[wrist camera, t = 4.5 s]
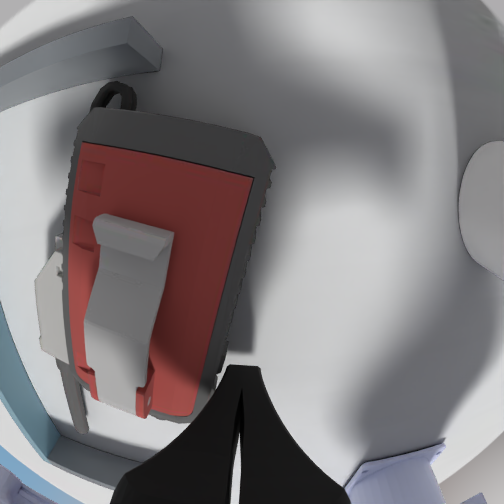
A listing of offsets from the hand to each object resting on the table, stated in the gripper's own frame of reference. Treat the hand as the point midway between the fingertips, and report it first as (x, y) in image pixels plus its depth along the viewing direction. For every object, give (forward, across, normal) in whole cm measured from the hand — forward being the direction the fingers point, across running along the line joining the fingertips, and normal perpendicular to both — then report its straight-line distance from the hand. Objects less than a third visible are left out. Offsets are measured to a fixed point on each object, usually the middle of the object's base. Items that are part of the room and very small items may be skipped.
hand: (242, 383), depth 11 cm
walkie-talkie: (+2, +5, -1) cm, 6 cm away
